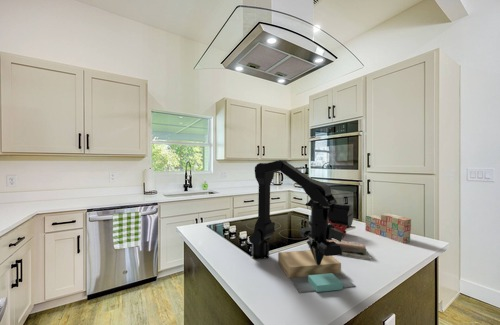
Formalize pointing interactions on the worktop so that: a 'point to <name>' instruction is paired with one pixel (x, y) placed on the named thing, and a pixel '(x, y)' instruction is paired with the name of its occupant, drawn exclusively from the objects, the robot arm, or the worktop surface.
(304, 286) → the mat
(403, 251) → the worktop surface
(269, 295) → the worktop surface
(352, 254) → the packaged product
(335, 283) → the teal rectangular block
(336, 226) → the plant pot
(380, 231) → the stack of blocks
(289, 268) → the board
